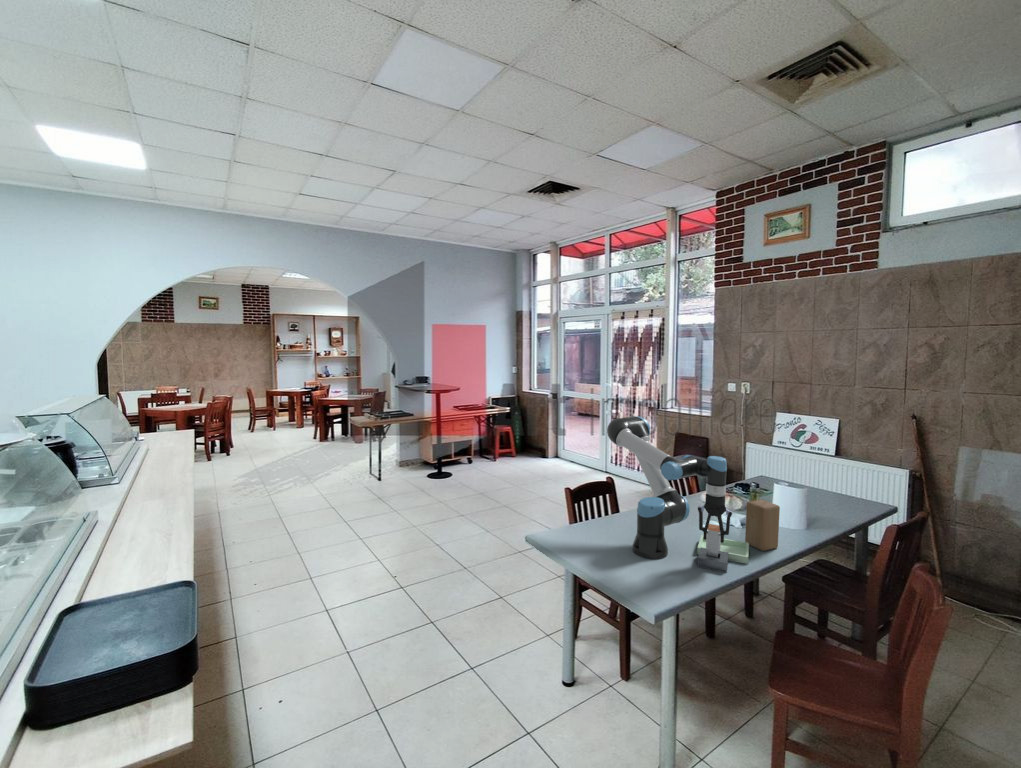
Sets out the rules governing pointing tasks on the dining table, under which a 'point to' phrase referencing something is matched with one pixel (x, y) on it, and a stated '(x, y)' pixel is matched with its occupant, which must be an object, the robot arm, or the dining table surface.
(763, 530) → the wooden block
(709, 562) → the block
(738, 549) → the tray
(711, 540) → the pin
